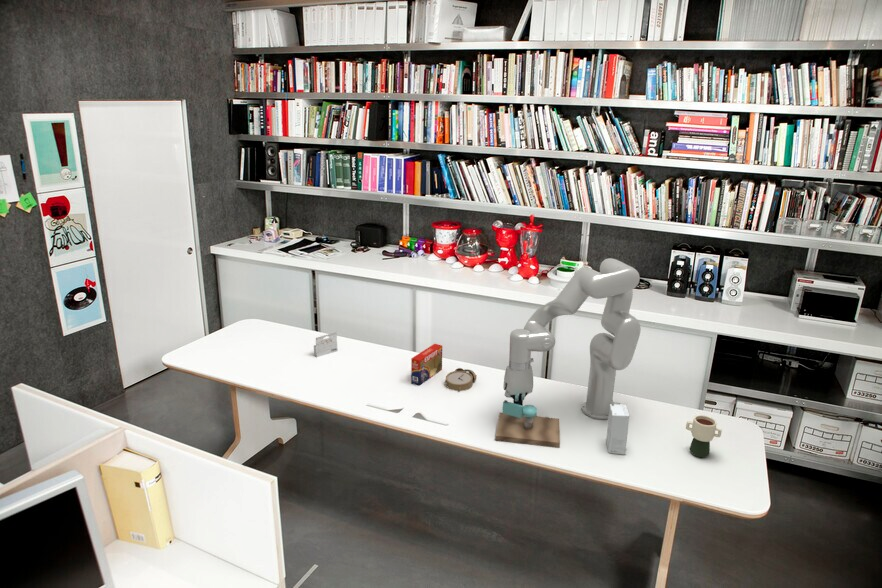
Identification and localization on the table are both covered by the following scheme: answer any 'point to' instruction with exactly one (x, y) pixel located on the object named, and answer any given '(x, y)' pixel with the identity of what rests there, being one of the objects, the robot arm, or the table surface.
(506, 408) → the teal lever handle
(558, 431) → the post block
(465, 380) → the alarm clock
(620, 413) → the skincare box
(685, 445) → the table surface
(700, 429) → the character mug
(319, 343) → the ink cartridge box
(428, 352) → the toy box
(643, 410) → the table surface
